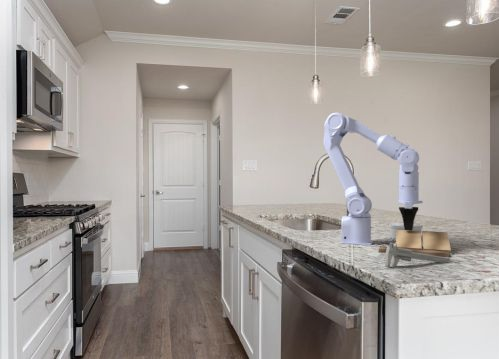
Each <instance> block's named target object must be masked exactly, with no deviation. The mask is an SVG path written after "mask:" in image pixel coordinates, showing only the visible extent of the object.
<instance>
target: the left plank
mask: <svg viewBox="0 0 499 359" xmlns="http://www.w3.org/2000/svg"><path fill="white" fill-rule="evenodd" d="M421 234H422V230H421V231H412V230H397V232H396V239H395V244H397V247H402V248H417V249H423V245H422V235H421Z"/></svg>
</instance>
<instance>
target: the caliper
mask: <svg viewBox="0 0 499 359" xmlns="http://www.w3.org/2000/svg"><path fill="white" fill-rule="evenodd" d="M396 247H397V244H396V242H395V243H393V242H389V245H388V246H387V250H386V253H384V265H385V267H386V268H389V269H390V268H391V267H393V268H396V267H397V265H399V264H398V263H399V262H400V260H403V261H406V262H407V261H408V262H411V261H412V259H413V260H420V261H427V262H428V261H429V262H432V263H433V262H435V263H441V264H444V263H446V264H447V263H453V262H454V260H451V258H448V257H439V256H433V255H426V254H420V253H414V252H412V251H411V250H406V249H400V248H396ZM390 266H391V267H390Z"/></svg>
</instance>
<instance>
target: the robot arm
mask: <svg viewBox="0 0 499 359" xmlns="http://www.w3.org/2000/svg"><path fill="white" fill-rule="evenodd" d="M323 127H324V128H323V129H324V134H323V147H324V149H325V151H326V153H327V156H328V157H329V160H330V162H331V164H332V166H333V168H334V171H335V173H336V175H337V177H338V179H339V181H340V184H341V186H342V189H343V190H344V197H345V200H346V208H347V211H348V215H342V217H341V224H340V225H341V231H340V235H341V236H340V237H341V238H340V239H341V242H340V244H347V245H361V246H372V244H373V242H374V241H373V239H372V235H371V234H372V215H371V213H370V211H371V210H372V205H373V203H372V201H371V199H370V197H368V196H367V195H366V194H365V192H364V190H363V189H362V187H360V184H359V183H358V180H357V178H356V176H355V175H354V172H353V170H352V167H351V166H350V164H349V161H348V160H347V157H346V155H345V153H344V150H343V149H342V147H341V143H342V141H343V138H344V137H345V136H346V135H347V133H350V134H354V133H355V134H358V135H360V136H362V137H363V138H365V139H367V140H369V141H371V142H372V143H374V144H375V145H376V148H377V150H378V151H379V152H381V153H383V154H384V155H386V156H387V157H389V158H390V159H392V160H394V161H397V162H398V164H399V172H398V200H397V203H398V204H402V205H404V206H403V207H402V206H398V210H399V212H400V214H401V218H402V223H404V228H405V230H412V229H413V224H414V223H415V219H416V215H417V213H418V212H419V207H418V206H414V205H418V204H423V200H419V199H420V198H419V191H420V190H419V185H420V184H419V180H420V179H419V175H420V172H419V165H418V164H419V161H420V155H419V153H418V152H417V151H416V150H415V149H414V148H411V147H410V146H409V144H408V143H405V144H404V142H401V141H400V140H398V139H396V138H397V137H396V136H394V135H393V134H391V135H390V134H385V135H381V134H379V133H377V132H376V131H374V130H373V129H372V128H369V127H368V126H367V125H365V124H363V123H362V122H360V121H359V120H357V119H355V118H351V117H350V116H347V115H344V114H342V113H340V112H333V113H330V114H329V115H328V116H327V118H326V120H325V122H324V125H323ZM371 239H372V240H371Z"/></svg>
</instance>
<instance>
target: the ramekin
mask: <svg viewBox="0 0 499 359" xmlns="http://www.w3.org/2000/svg"><path fill="white" fill-rule="evenodd" d="M388 229H389V233H390V237H391V238H392V239H394V240H396V232H397V230H405V228H404V223H403V222H391V223H389V224H388ZM422 229H423V224H420V223H415V222H414V224H413V229H412V231H421V232H422V231H423V230H422Z"/></svg>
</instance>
